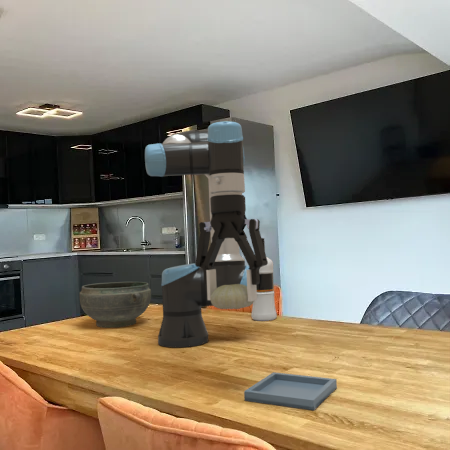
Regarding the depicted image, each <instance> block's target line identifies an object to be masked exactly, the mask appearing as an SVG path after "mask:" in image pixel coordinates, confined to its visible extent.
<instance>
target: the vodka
mask: <svg viewBox="0 0 450 450" xmlns="http://www.w3.org/2000/svg"><path fill="white" fill-rule="evenodd" d="M261 239H262V242H263V246H264V250H265V251H266V246H265V244H266V243H265V238H264V237H261ZM266 258H267V261H268V264H267V265H265V266H262V267H261V268H260V269H259V276H260V283H259V284H257V285H256V289H257V300H255V301H254V302H253V304H252V309H251V318H252V319H253V321H257V322H268V321H269V320H270V321H274V320H275V319H277V317H278V316H277V313H278V312H277V309H276V304H275V290H274V289H275V288H274V285H275V284H274V262H273V260H272V259H271V258H269V257H267V256H266Z"/></svg>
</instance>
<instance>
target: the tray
mask: <svg viewBox="0 0 450 450" xmlns="http://www.w3.org/2000/svg"><path fill="white" fill-rule="evenodd" d="M337 383H338V382H337V378H331V377H321V376H312V375H301V374H294V373H293V374H292V373H283V372H272V373H270V374H268V375H267V376H265V377H264V378H262V379H261V380H259V381H258V382H256V383H255V384H253V385H252V386H250V387H248V388H247V389H245V390H244V391H243V395H244V398H243V399H244V401H246V402H251V403H259V404H267V405H272V406H278V407H279V406H280V407H287V408H293V409H295V408H296V409H299V410H301V409H302V410H308V411H315V410H316V409H317V408H318V407H319V406H320V405H321V404H322V403H323V402H324V401H326V400H327V398H328V397H330V396H331V394H332V393H333V392H334V391H336V390H337V388H338V385H337Z"/></svg>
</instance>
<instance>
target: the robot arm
mask: <svg viewBox="0 0 450 450" xmlns="http://www.w3.org/2000/svg"><path fill="white" fill-rule="evenodd" d="M144 162H145V163H144V164H145V170H146V174H147V175H148V176H150V177H161V178H163V177H168V176H169V177H170V176H172V177H173V176H189V175H191V176H201V175H204V176H205V177H206V178H207V179H208V201H209V220H210V221H204V222H203V221H200V222H199V224H198V227H199V238H198V244H197V248H196V249H197V250H196V257H195V263H187V264H181V265H175V266H171V267H169V268H168V267H167V268H165V269H164V270H163V271H162V273H161V284H160V285H161V291H162V322H161V325H160V328H159V333H158V335H157V343H158V345H159V346H161V347H167V348H187V347H188V348H189V347H190V348H191V347H196V346H200V345H203V344H206V343H208V342H209V331H208V330H207V326H206V324H205V321H204V319H203V315H202V307H214V306H213V305H212V303H211V300H210V297H211V295H212V293H213V291H214V290H215V289H217V288H218V287H220V286H222V285H233V284H242V285H245V286H247V294H248V301H255V300H257V289H256V285H257V284H259V283H260V276H259V269H260V268H261V267H262V266H265V265H267V264H268V261H267V258H266V257H267V255H266V249H265V250H264V246H263V242H262V239H261V238H262V235H261V231H260V223H261V222H260V219H258V218H250V219H249V218H247V216H246V210H247V209H246V206H247V205H246V196H245V195H244V193H245V192H246V186H245V185H246V184H245V171H244V169H245V168H244V167H245V165H246V157H245V149H244V136H243V129H242V125H241V124H240V123H239V122H236V121H217V122H213V123H211V124H210V125H209V126H208V127H207V129H190V130H185V131H181V132H177V133H175V134H172V135H170V136H168V137H167V138H165V139H164V141H163V142H162V143H160V142H159V143H158V142H157V143H153V144H152V143H151V144H148V145H146V146H145V149H144ZM246 227H247V229H248V233H249V237H250V240H251V241H250V242H251V244H250V242H249V241H248V236H247V234H246V232H245V228H246ZM251 245H252V246H251ZM252 248H253V249H252ZM240 251H241V253H242V255H243V257H242V256H241V253H240ZM245 260H246V261H245ZM246 263H247V264H246Z"/></svg>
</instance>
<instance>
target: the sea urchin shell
mask: <svg viewBox="0 0 450 450" xmlns="http://www.w3.org/2000/svg"><path fill="white" fill-rule="evenodd" d="M210 300H211V303H212V305H213V306H212V307H214V308H217V309H219V310H228V309H229V310H233V309H234V310H240V309H244V308H247V307H250V306H253V302H254V301H248V294H247V286H245V285H242V284H233V285H222V286H220V287H218V288H217V289H215V290H214V291H213V293H212V295H211V297H210Z"/></svg>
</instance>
